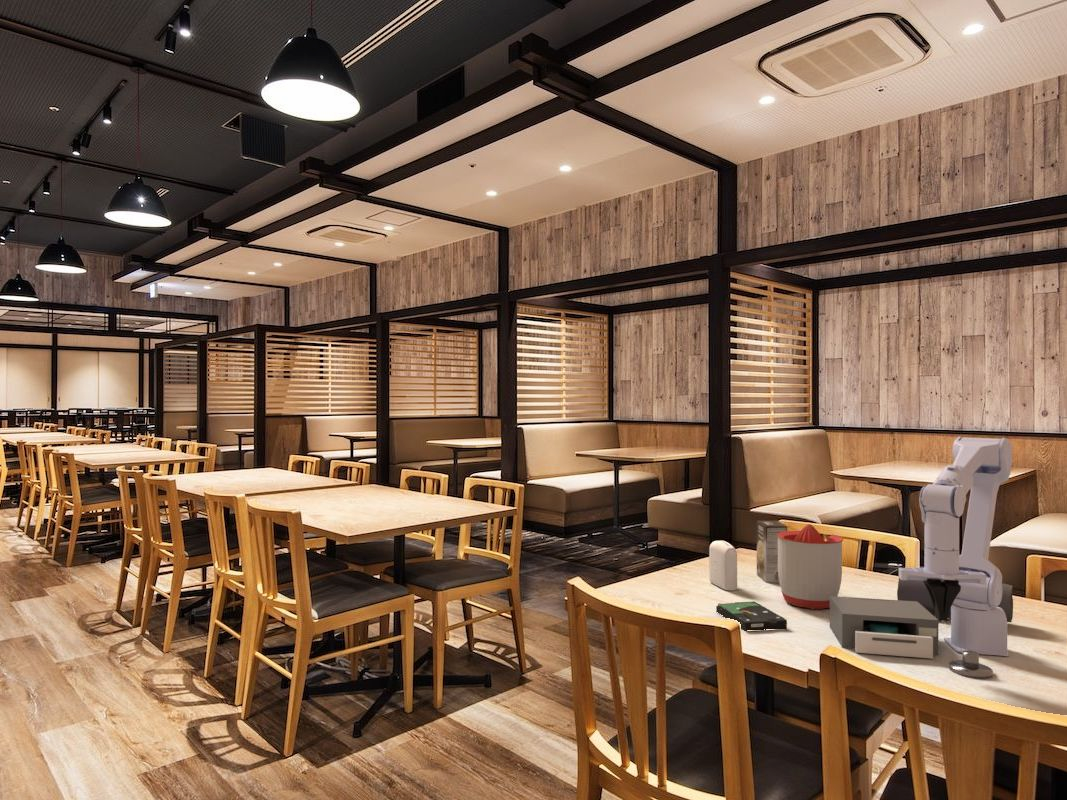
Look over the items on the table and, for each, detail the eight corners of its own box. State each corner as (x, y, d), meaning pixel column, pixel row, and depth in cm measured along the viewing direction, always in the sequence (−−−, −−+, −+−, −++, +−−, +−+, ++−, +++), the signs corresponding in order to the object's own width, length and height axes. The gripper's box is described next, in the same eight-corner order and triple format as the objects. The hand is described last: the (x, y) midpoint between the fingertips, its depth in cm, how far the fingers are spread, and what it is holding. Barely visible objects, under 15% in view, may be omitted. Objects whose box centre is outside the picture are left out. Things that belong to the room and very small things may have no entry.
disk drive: (788, 632, 155) (754, 611, 169) (788, 619, 155) (754, 600, 169) (745, 634, 153) (714, 613, 167) (745, 622, 153) (715, 602, 167)
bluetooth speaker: (896, 613, 167) (896, 572, 167) (903, 604, 175) (903, 565, 175) (1010, 633, 153) (1011, 587, 153) (1013, 622, 161) (1013, 579, 161)
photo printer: (707, 582, 196) (707, 538, 196) (721, 581, 197) (721, 537, 197) (724, 591, 186) (725, 545, 186) (739, 590, 187) (739, 544, 187)
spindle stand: (983, 666, 134) (983, 648, 134) (999, 680, 127) (999, 661, 127) (943, 663, 135) (943, 645, 135) (956, 676, 128) (956, 657, 128)
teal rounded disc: (893, 633, 148) (893, 622, 148) (901, 642, 143) (901, 630, 143) (865, 631, 149) (865, 620, 149) (872, 640, 144) (872, 628, 144)
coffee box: (755, 574, 204) (755, 520, 204) (777, 574, 204) (777, 520, 204) (765, 582, 195) (765, 525, 195) (788, 583, 195) (788, 525, 195)
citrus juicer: (855, 602, 176) (856, 523, 176) (827, 616, 164) (827, 532, 164) (795, 590, 187) (796, 516, 188) (765, 603, 175) (765, 523, 175)
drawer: (909, 633, 152) (909, 615, 152) (933, 658, 136) (933, 638, 136) (840, 628, 155) (840, 610, 155) (856, 652, 140) (856, 632, 140)
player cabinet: (917, 633, 153) (917, 601, 153) (938, 655, 139) (938, 620, 139) (829, 627, 157) (829, 595, 157) (842, 647, 143) (842, 613, 143)
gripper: (906, 550, 130) (905, 623, 130) (993, 554, 127) (993, 629, 127) (895, 542, 137) (895, 611, 137) (977, 546, 133) (977, 617, 133)
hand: (941, 619), depth 132 cm, fingers closed
